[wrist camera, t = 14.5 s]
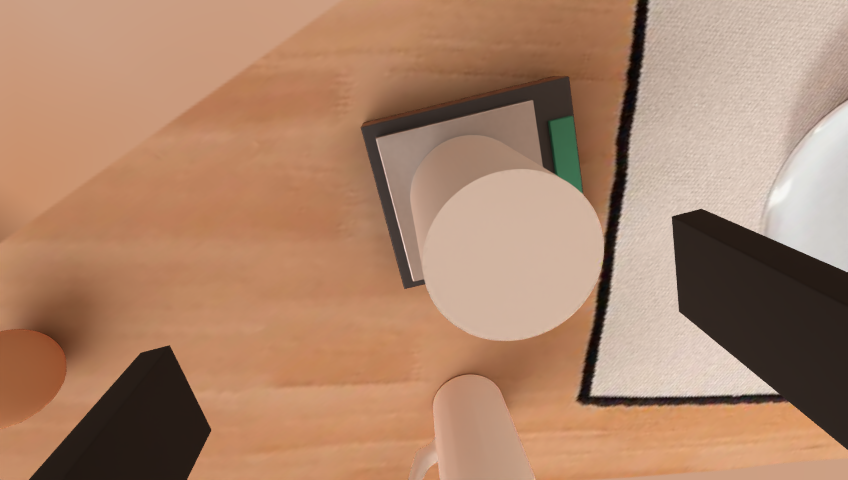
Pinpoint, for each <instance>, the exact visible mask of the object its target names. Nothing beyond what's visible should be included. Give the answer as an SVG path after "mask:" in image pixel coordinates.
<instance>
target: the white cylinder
mask: <svg viewBox="0 0 848 480" xmlns="http://www.w3.org/2000/svg"><path fill="white" fill-rule="evenodd" d="M410 202H411V208H412V214H413V220H414V225H415V231H416V236H417V242H418V248H419V253H420V259H421V264H422V270H423V276H424V280H425V284H426V287H427V290H428V293H429V295H430V297H431V299H432V301H433V302H434V304H435V306H436V307H437V308H438V310H439V311H440V312H441V313H442V315H443V316H444V317H445V318H446V319H447V320H449V321H450V322H451V323H452V324H454V325H455V326H456V327H458V328H460V329H461V330H463V331H465V332H467V333H469V334H472V335H474V336H477V337H480V338H484V339H489V340H496V341H515V340H522V339H527V338H531V337H534V336H537V335H540V334H543V333H545V332H547V331H549V330H551V329H553V328H555V327H557V326H558V325H560V324H561V323H563V322H564V321H566V320H567V319H568V318H569V317H571V316H572V315H573V314H574V313H575V312H576V311H577V310H578V309H579V308H580V307H581V306H582V304H583V303H584V302H585V301H586V299H587V298H588V296H589V295H590V293H591V292H592V290H593V288H594V286H595V284H596V282H597V279H598V277H599V274H600V271H601V267H602V262H603V255H604V240H603V233H602V228H601V225H600V222H599V219H598V217H597V214H596V212H595V210H594V209H593V207H592V205H591V204H590V202H589V201H588V200H587V199H586V197H585V196H584V195H583V194H582V193H581V192H580V191H579V190H578V189H576V188H575V187H574V186H573V185H571V184H570V183H568V182H567V181H565V180H563V179H562V178H560V177H558V176H557V175H555V174H553V173H552V172H550V171H548V170H547V169H545V168H543V167H542V166H540V165H538V164H537V163H535V162H533V161H532V160H530V159H528V158H527V157H525V156H523V155H522V154H520V153H518V152H517V151H515V150H513V149H512V148H510V147H508V146H507V145H505V144H503V143H502V142H500V141H498V140H496V139H493V138H490V137H487V136H481V135H464V136H459V137H455V138H452V139H449V140H447V141H445V142H443V143H441V144H440V145H438V146H437V147H435V148H434V149H433V150H432V151H431V152H429V153H428V154H427V156H426V157H425V158H424V159H423V160H422V162H421V163H420V165H419V166H418V168H417V170H416V172H415V175H414V177H413V181H412V185H411V191H410Z"/></svg>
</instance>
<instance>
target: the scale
mask: <svg viewBox="0 0 848 480" xmlns="http://www.w3.org/2000/svg"><path fill="white" fill-rule="evenodd" d="M528 99H530V100H533V104H534V110H535V117H536V124H537V130H538V137H539V144H540V151H541V157H542V164H543V168H545V169H547V170H548V171H550V172H552V173H553V174H555V175H557V176H558V177H560V178H562V179H563V180H565V181H567V182H568V183H570V184H571V185H573V186H574V187H575V188H576V189H578V190H579V191H580V192H581V193H582V194H583V187H582V179H581V171H580V163H579V155H578V147H577V139H576V131H575V123H574V114H573V106H572V98H571V90H570V82H569V77H566V76H553V77H549V78H545V79H541V80H537V81H533V82H529V83H524V84H520V85H516V86H512V87H508V88H504V89H500V90H496V91H492V92H488V93H484V94H479V95H475V96H471V97H467V98H463V99H459V100H455V101H451V102H447V103H443V104H439V105H434V106H430V107H426V108H422V109H418V110H414V111H410V112H406V113H402V114H398V115H394V116H389V117H385V118H381V119H377V120H373V121H369V122H365V123H363V125H362V127H361V130H362V133H363V137H364V141H365V145H366V148H367V152H368V156H369V159H370V163H371V167H372V171H373V174H374V178H375V182H376V185H377V189H378V193H379V197H380V200H381V204H382V208H383V211H384V215H385V219H386V223H387V226H388V230H389V234H390V237H391V241H392V245H393V249H394V252H395V256H396V260H397V263H398V267H399V271H400V275H401V278H402V282H403V286H404V289H407V288H411V287H415V286H419V285H423V284H425V280H424V279H422V280H418V281H414V282H413V280H412V276H411V272H410V268H409V264H408V261H407V257H406V253H405V249H404V245H403V241H402V238H401V234H400V230H399V226H398V222H397V218H396V215H395V211H394V207H393V203H392V199H391V196H390V192H389V188H388V184H387V180H386V176H385V173H384V169H383V165H382V161H381V157H380V153H379V150H378V146H377V142H376V137H377V136H381V135H385V134H389V133H393V132H397V131H401V130H406V129H410V128H414V127H418V126H422V125H426V124H430V123H434V122H438V121H442V120H446V119H451V118H455V117H459V116H463V115H467V114H471V113H475V112H479V111H483V110H487V109H491V108H496V107H500V106H504V105H508V104H512V103H516V102H520V101H524V100H528Z"/></svg>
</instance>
